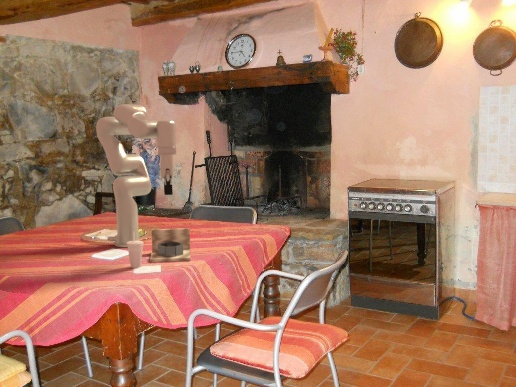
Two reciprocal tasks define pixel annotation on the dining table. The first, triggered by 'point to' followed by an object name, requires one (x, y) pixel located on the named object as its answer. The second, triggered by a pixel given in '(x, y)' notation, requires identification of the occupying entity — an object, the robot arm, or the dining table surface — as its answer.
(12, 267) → the dining table surface
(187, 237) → the holder
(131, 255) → the smoothie
